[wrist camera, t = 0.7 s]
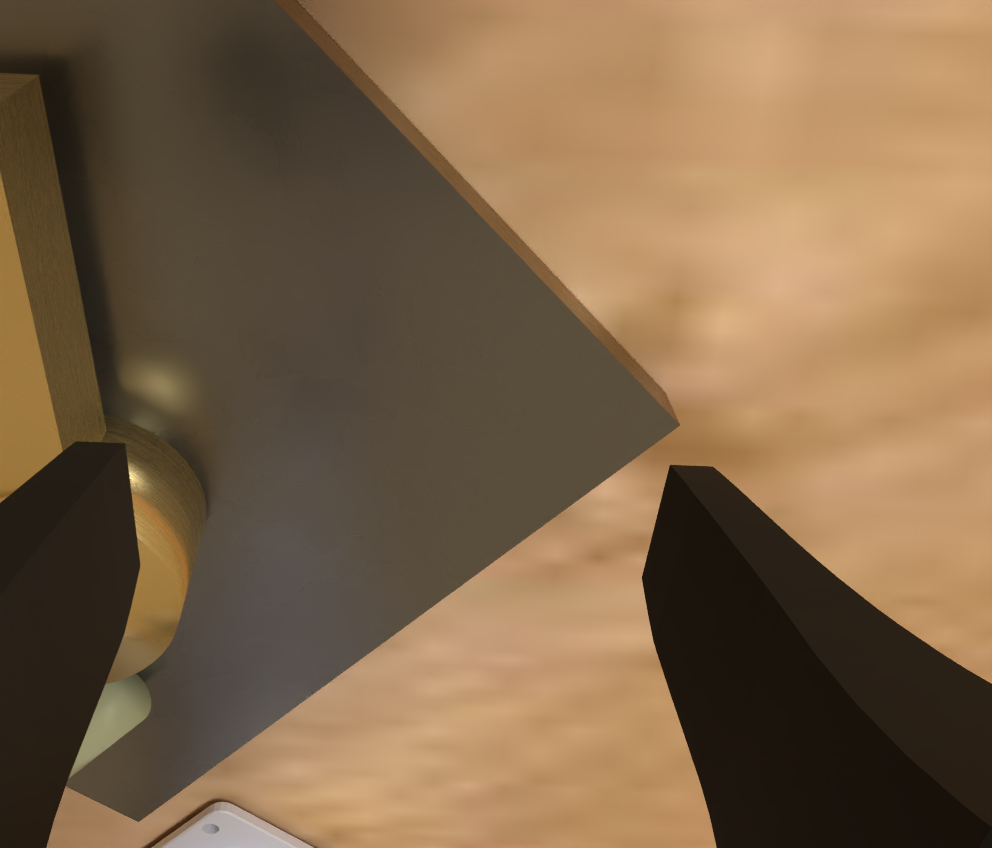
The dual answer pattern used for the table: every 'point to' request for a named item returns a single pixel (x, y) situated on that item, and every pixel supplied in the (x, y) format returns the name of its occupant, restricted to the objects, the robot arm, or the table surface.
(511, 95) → the table surface
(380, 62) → the table surface
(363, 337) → the base plate
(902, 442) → the table surface
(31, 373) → the brass door handle
